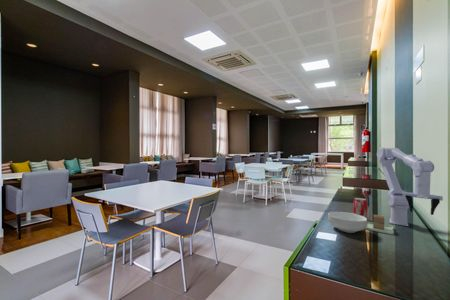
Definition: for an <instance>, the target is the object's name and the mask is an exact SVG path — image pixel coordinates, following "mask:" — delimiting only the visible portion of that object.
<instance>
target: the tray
mask: <svg viewBox="0 0 450 300" xmlns="http://www.w3.org/2000/svg"><path fill="white" fill-rule="evenodd" d="M363 230H366V231H371V232H376V233H381V234H385V235H391V236H394V235H395V231H394V226H393V225H390V224H385V223H384V230H380V229H374V228H373V221H368V220H367V225H366V227H365V228H364V229H363Z"/></svg>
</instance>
